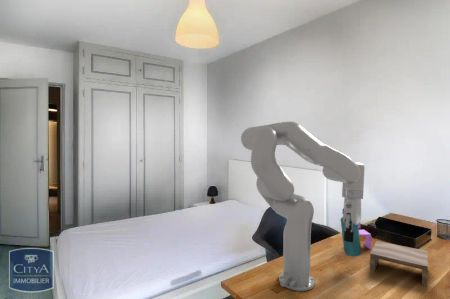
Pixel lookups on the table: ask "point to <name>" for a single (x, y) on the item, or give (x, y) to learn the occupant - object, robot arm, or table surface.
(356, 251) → the beverage bottle
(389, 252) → the walnut shelf
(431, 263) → the table surface
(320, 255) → the table surface
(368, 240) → the toy chair
